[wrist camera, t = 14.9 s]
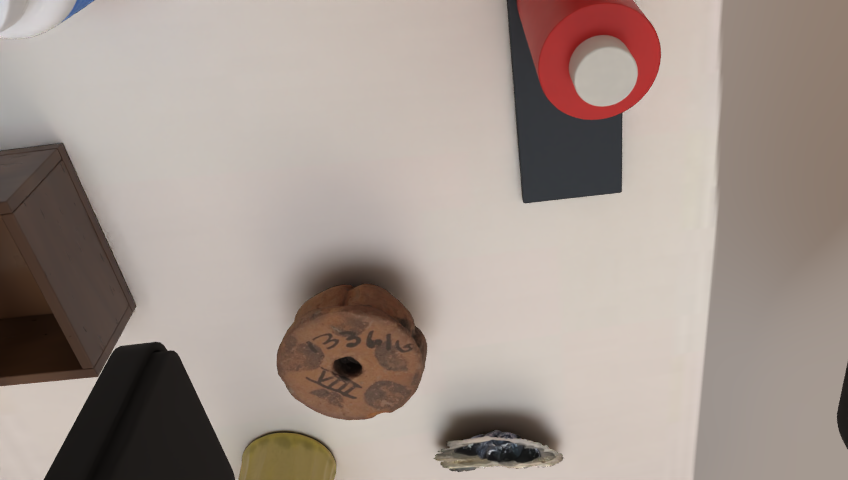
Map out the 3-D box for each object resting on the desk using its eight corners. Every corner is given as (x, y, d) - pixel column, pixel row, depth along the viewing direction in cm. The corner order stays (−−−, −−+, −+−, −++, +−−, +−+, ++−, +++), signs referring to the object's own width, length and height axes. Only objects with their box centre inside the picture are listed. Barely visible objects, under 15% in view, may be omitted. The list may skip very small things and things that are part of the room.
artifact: (397, 376, 44) (392, 441, 40) (275, 335, 42) (257, 399, 38) (451, 281, 40) (452, 342, 36) (318, 233, 38) (304, 291, 34)
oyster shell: (424, 479, 47) (422, 450, 48) (539, 479, 49) (535, 451, 50) (456, 443, 42) (452, 411, 43) (583, 445, 44) (577, 414, 45)
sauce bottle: (513, -46, 30) (538, 23, 22) (612, -61, 30) (673, 5, 22) (520, 49, 32) (545, 142, 25) (612, 36, 32) (668, 127, 24)
